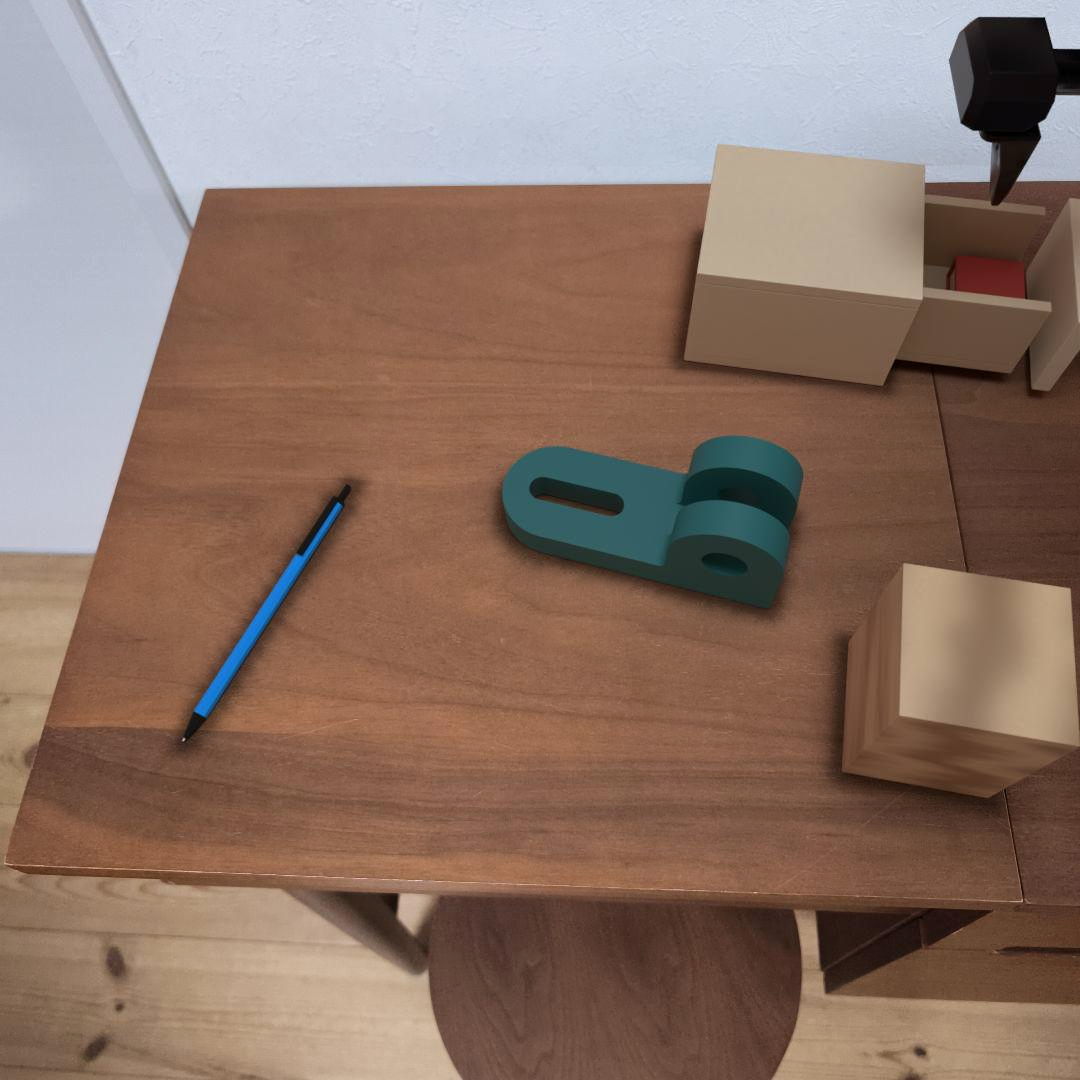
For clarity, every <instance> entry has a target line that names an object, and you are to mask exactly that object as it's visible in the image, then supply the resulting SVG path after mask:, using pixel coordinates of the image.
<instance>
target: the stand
mask: <svg viewBox="0 0 1080 1080" xmlns="http://www.w3.org/2000/svg"><path fill="white" fill-rule="evenodd" d="M1071 590H1072V589H1071V588H1070V587H1064V586H1057V585H1051V584H1044V583H1038V582H1030V581H1026V580H1018V579H1011V578H1005V577H999V576H992V575H985V574H978V573H974V572H973V573H972V572H967V571H959V570H953V569H947V568H938V567H932V566H926V565H919V564H913V563H907V562H903V563H902V564H901V566H900V568H899V569H898V570H897V572H896V573H895V574H894V576H893V577H892V579H891V580H890V581H889V583H888V584H887V586H886V587H885V589H884V590H883V592H882V593H881V595H880V596H879V597H878V599H877V600H876V602H875V603H874V605H873V606H872V607H871V609H870V610H869V612H868V613H867V615H866V616H865V618H864V619H863V620H862V622H861V623H860V625H859V626H858V628H857V629H856V630H855V632H854V633H853V635H852V637H851V638H850V639H849V641H848V643H847V644H848V645H847V662H846V681H845V683H846V684H845V698H844V699H845V701H844V718H843V719H844V720H843V739H842V759H841V772H842V773H846V774H851V775H857V776H862V777H869V778H874V779H879V780H884V781H889V782H890V781H891V782H894V783H895V782H897V783H902V784H908V785H913V786H917V787H923V788H929V789H934V790H939V791H946V792H950V793H951V792H952V793H956V794H962V795H968V796H973V797H979V798H985V799H989V798H991V797H993V796H995V795H996V794H998V793H1000V792H1002V791H1003V790H1005V789H1007V788H1009V787H1011V786H1013V785H1014V784H1016V783H1018V782H1020V781H1022V780H1023V779H1025V778H1026V777H1029V776H1030V775H1032V774H1034V773H1035V772H1037V771H1040V770H1041V769H1042V768H1045V767H1046V766H1048V765H1050V764H1052V763H1053V762H1055V761H1057V760H1059V759H1061V758H1063V757H1064V756H1066V755H1067V754H1070V753H1072V752H1073V751H1075V750H1076V749H1078V748H1080V720H1079V719H1080V718H1079V703H1078V688H1077V686H1078V685H1077V672H1076V671H1077V670H1076V669H1077V668H1076V657H1075V656H1076V655H1075V640H1074V639H1075V637H1074V621H1073V606H1072V591H1071Z"/></svg>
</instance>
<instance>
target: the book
mask: <svg viewBox="0 0 1080 1080" xmlns="http://www.w3.org/2000/svg"><path fill="white" fill-rule="evenodd" d="M1025 278H1026V277H1025V263H1024V262H1022V261H1020V262H1015V261H1006V260H997V259H988V258H979V257H970V256H962V255H956V256H955V258H954V260H953V263H952V265H951V267H950V269H949V271H948V273H947V275H946V290H951V291H960V292H968V293H977V294H985V295H994V296H1002V297H1011V298H1019V299H1026V284H1025V283H1026V281H1025Z"/></svg>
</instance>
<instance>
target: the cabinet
mask: <svg viewBox="0 0 1080 1080" xmlns="http://www.w3.org/2000/svg"><path fill="white" fill-rule="evenodd" d="M925 194H926V164H922V163H913V162H902V161H901V162H900V161H892V160H883V159H882V160H881V159H872V158H863V157H852V156H842V155H834V154H823V153H812V152H804V151H793V150H785V149H784V150H783V149H773V148H764V147H755V146H754V147H753V146H745V145H744V146H743V145H733V144H725V143H718V144H717V145H716V151H715V157H714V163H713V169H712V177H711V181H710V188H709V194H708V201H707V208H706V213H705V218H704V226H703V232H702V233H703V234H702V238H701V245H700V251H699V257H698V263H697V269H696V275H695V282H694V288H693V294H692V295H693V296H692V304H691V310H690V315H689V321H688V322H689V323H688V328H687V336H686V342H685V349H684V356H683V361H688V362H694V363H703V364H708V365H709V364H711V365H716V366H717V365H718V366H726V367H734V368H741V369H749V370H756V371H762V372H763V371H764V372H771V373H779V374H787V375H793V376H794V375H796V376H802V377H811V378H817V379H826V380H832V381H833V380H834V381H842V382H848V383H857V384H863V385H872V386H879V387H883V386H884V384H885V382H886V379H887V377H888V375H889V373H890V371H891V368H892V367H893V364H894V362H895V360H896V359H895V358H896V356H897V354H898V352H899V350H900V347H901V345H902V343H903V341H904V339H905V337H906V335H907V333H908V330H909V328H910V326H911V324H912V322H913V320H914V318H915V316H916V313H917V311H918V308H919V307H920V304H921V302H922V300H923V262H924V207H925Z"/></svg>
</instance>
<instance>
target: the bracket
mask: <svg viewBox="0 0 1080 1080" xmlns="http://www.w3.org/2000/svg"><path fill="white" fill-rule="evenodd" d="M803 481H804V469H803V466H802V465H801V463H800V462H799V460H798V459H797V458H796V457H795V456H794V455H793V454H792V453H791V452H789V451H788V450H787V449H785V448H783V447H781V445H778V444H775V443H773V442H771V441H768V440H765V439H761V438H758V437H755V436H754V437H753V436H747V435H737V434H736V435H733V434H732V435H722V436H716V437H712V438H710V439H708V440H705V441H703V442H701V443H700V444H699V445H697V447H696V448H695V449H694V450H693V453H692V455H691V460H690V463H689V467H688V471H687V473H681V472H677V471H673V470H669V469H664V468H660V467H656V466H651V465H647V464H643V463H638V462H634V461H630V460H626V459H622V458H616V457H612V456H608V455H604V454H600V453H595V452H591V451H586V450H582V449H577V448H573V447H569V446H562V445H552V446H545V447H544V446H543V447H540V448H536V449H534V450H531V451H529V452H527V453H525V454H524V455H523V456H521V457H520V458H519V459H517V460H516V461H515V462H514V463H513V464H512V465H511V466H510V468H509V470H508V471H507V473H506V475H505V477H504V480H503V483H502V488H501V489H502V490H501V496H502V497H501V498H502V503H503V504H502V505H503V511H504V517H505V521H506V524H507V526H508V527H507V528H508V529H509V530H510V533H512V535H513V536H514V537H515V539H516V540H518V542H520V543H521V544H522V545H524V546H525V547H527V548H528V549H530V550H533V551H535V552H538V553H541V554H546V555H550V556H554V557H557V558H562V559H566V560H570V561H573V562H577V563H582V564H586V565H590V566H592V567H593V566H594V567H598V568H601V569H606V570H610V571H613V572H617V573H621V574H625V575H630V576H633V577H637V578H641V579H646V580H650V581H654V582H658V583H662V584H665V585H670V586H674V587H677V588H681V589H686V590H688V591H689V590H690V591H694V592H697V593H701V594H706V595H709V596H712V597H713V596H714V597H717V598H722V599H726V600H730V601H734V602H737V603H742V604H746V605H749V606H753V607H758V608H761V609H765V610H770V607H771V605H772V603H773V601H774V599H775V597H776V594H777V592H778V590H779V588H780V586H781V583H782V581H783V580H784V576H785V569H786V566H787V561H788V555H789V551H790V545H791V535H790V532H789V531H790V528H791V525H792V523H793V520H794V518H795V516H796V513H797V510H798V505H799V501H800V496H801V491H802V487H803V486H802V485H803ZM541 495H547V496H551V497H555V498H559V499H564V500H568V501H571V502H576V503H580V504H584V505H589V506H592V507H597V508H601V509H605V510H609V511H614V512H616V513H618V514H616V515H612V516H611V515H605V514H602V513H597V512H593V511H590V510H585V509H580V508H576V507H572V506H569V505H564V504H560V503H556V502H553V501H552V502H551V501H547V500H543V499H539V498H536V497H538V496H541Z"/></svg>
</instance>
